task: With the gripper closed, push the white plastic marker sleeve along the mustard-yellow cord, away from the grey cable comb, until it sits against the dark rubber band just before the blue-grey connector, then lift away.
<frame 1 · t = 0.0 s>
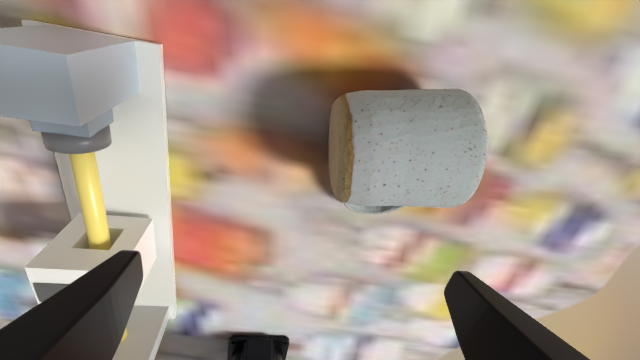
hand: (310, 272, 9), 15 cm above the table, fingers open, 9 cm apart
cord rig: (123, 207, 23), on the table
ceramic mug: (379, 144, 23), on the table
marker sleeve: (101, 262, 21), point 4 cm above the table, slide at 0.0 cm
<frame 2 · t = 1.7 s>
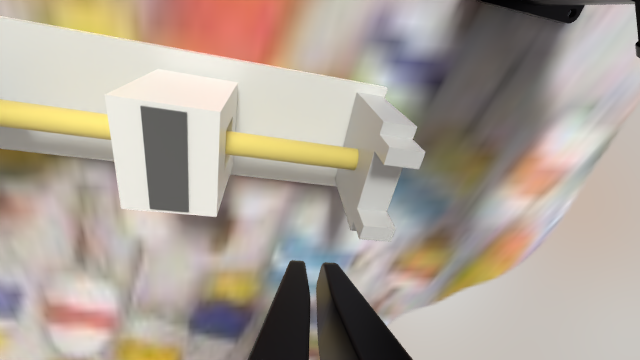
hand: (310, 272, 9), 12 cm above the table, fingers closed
cord rig: (167, 109, 18), on the table
marker sleeve: (185, 139, 15), point 4 cm above the table, slide at 0.0 cm
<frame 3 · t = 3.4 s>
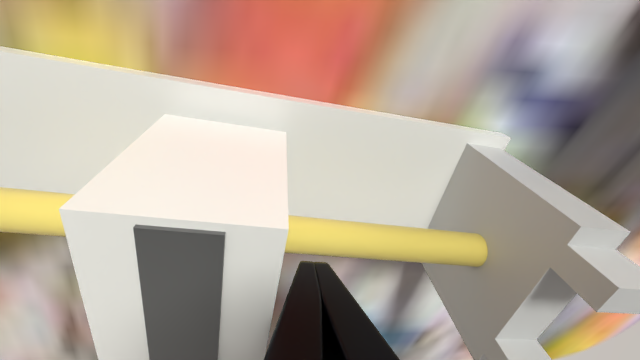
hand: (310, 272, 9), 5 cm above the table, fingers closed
cord rig: (193, 167, 12), on the table
marker sleeve: (209, 232, 9), point 4 cm above the table, slide at 0.6 cm, touching gripper
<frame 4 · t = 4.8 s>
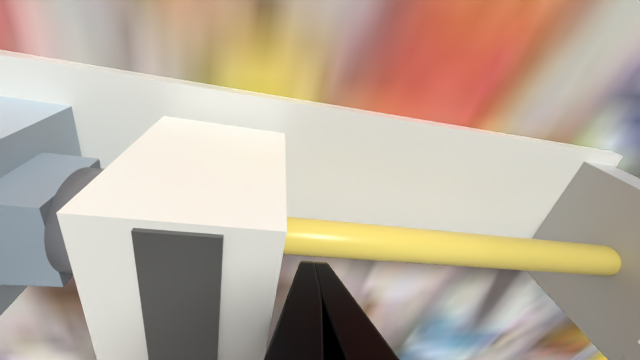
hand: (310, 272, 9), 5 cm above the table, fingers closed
cord rig: (333, 185, 13), on the table
marker sleeve: (208, 234, 9), point 4 cm above the table, slide at 6.5 cm, touching gripper
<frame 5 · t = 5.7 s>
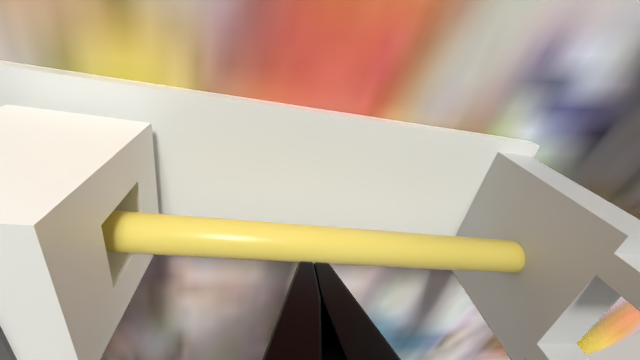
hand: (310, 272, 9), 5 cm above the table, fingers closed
cord rig: (231, 180, 12), on the table
marker sleeve: (41, 232, 8), point 4 cm above the table, slide at 6.5 cm
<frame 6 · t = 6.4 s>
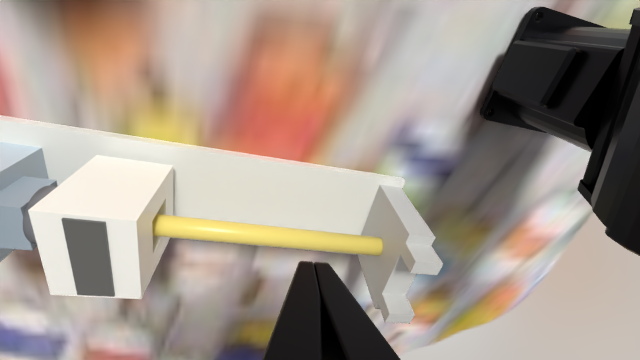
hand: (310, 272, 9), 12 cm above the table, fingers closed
cord rig: (217, 196, 20), on the table
marker sleeve: (117, 224, 16), point 4 cm above the table, slide at 6.5 cm
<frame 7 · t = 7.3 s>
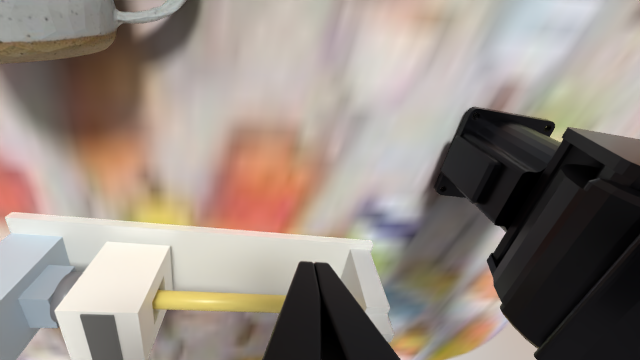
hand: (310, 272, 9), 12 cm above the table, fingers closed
cord rig: (209, 262, 24), on the table
marker sleeve: (125, 301, 19), point 4 cm above the table, slide at 6.5 cm
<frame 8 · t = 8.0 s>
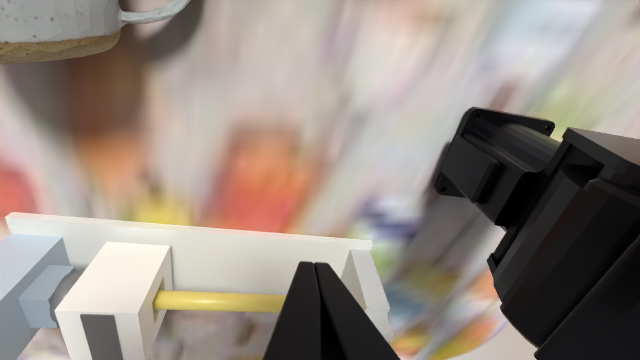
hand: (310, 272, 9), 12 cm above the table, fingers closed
cord rig: (209, 262, 24), on the table
marker sleeve: (125, 301, 19), point 4 cm above the table, slide at 6.5 cm
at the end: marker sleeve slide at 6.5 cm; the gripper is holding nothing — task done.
